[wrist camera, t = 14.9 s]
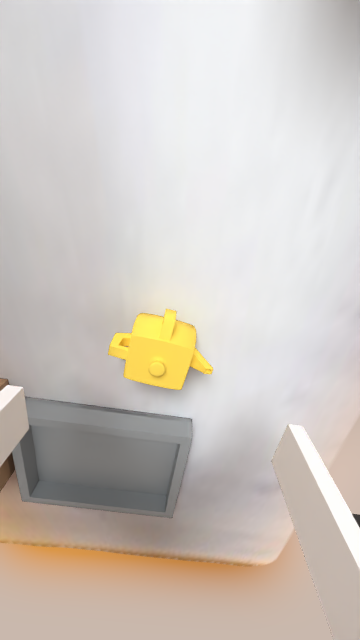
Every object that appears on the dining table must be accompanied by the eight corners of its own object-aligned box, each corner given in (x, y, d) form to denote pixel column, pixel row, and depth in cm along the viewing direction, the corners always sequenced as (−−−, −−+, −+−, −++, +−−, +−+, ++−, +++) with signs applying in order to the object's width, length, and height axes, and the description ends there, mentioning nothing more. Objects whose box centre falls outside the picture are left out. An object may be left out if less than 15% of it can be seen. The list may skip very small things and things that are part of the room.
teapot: (219, 312, 20) (230, 342, 15) (200, 366, 23) (204, 406, 18) (128, 288, 20) (109, 312, 15) (117, 346, 22) (98, 383, 17)
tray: (34, 480, 30) (22, 501, 28) (20, 396, 24) (4, 414, 22) (173, 496, 31) (172, 518, 29) (191, 418, 25) (192, 438, 23)
